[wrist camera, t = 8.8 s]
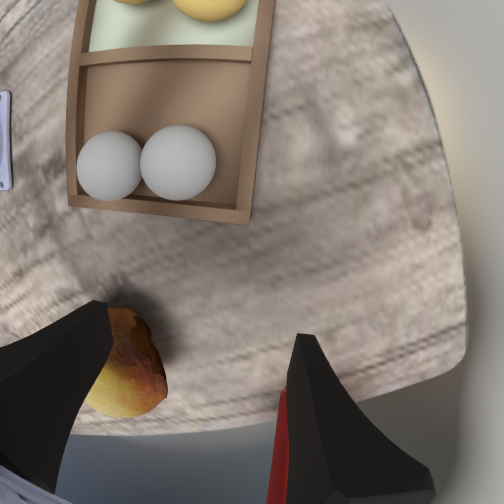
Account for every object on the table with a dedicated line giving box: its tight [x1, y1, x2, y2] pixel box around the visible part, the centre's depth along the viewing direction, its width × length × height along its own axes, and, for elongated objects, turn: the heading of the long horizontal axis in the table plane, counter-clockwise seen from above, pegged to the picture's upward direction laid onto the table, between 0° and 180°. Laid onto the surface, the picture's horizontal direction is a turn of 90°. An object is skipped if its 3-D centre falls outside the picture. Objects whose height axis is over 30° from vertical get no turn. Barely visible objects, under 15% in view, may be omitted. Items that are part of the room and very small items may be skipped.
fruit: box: [84, 307, 168, 418], centre depth 21 cm, size 8×8×8 cm
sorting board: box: [66, 0, 276, 226], centre depth 16 cm, size 12×17×2 cm
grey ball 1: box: [76, 131, 142, 201], centre depth 16 cm, size 4×4×4 cm
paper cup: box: [266, 388, 289, 504], centre depth 20 cm, size 8×8×14 cm
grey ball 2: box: [140, 125, 216, 200], centre depth 16 cm, size 4×4×4 cm
